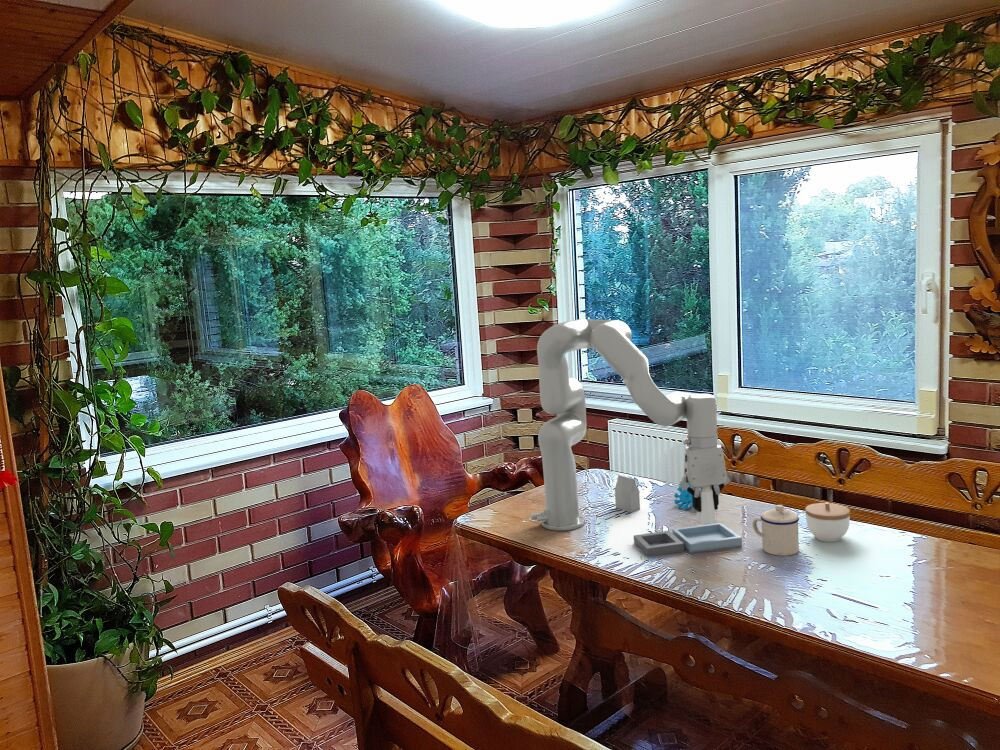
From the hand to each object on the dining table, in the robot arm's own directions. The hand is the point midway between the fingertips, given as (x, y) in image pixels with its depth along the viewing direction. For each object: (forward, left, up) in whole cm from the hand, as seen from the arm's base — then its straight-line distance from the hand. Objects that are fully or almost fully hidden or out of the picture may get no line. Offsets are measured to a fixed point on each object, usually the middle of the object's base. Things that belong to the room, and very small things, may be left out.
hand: (705, 508), depth 200 cm
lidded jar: (+30, -8, -9) cm, 32 cm away
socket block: (-13, +1, -9) cm, 16 cm away
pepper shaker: (0, 0, -3) cm, 3 cm away
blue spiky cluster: (+8, +28, -10) cm, 31 cm away
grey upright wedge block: (-10, +34, -9) cm, 37 cm away
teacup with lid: (+14, -10, -9) cm, 19 cm away
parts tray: (0, 0, -9) cm, 9 cm away
